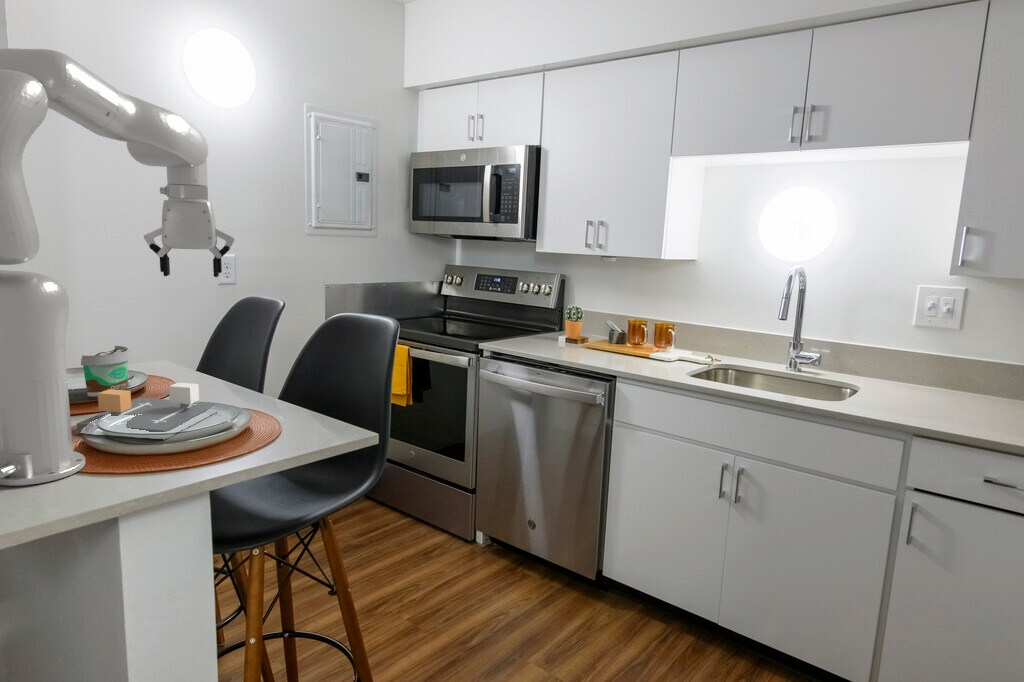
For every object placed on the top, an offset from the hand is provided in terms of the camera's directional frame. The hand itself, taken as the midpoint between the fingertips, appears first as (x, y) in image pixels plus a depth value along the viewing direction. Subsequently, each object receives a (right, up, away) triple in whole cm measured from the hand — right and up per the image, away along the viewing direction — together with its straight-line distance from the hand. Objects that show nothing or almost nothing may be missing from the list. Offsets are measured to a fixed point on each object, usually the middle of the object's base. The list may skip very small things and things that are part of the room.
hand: (191, 276), depth 138 cm
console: (-3, -30, -10) cm, 32 cm away
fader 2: (+2, -27, -7) cm, 28 cm away
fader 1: (-8, -28, -14) cm, 33 cm away
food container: (-21, -26, +7) cm, 34 cm away
